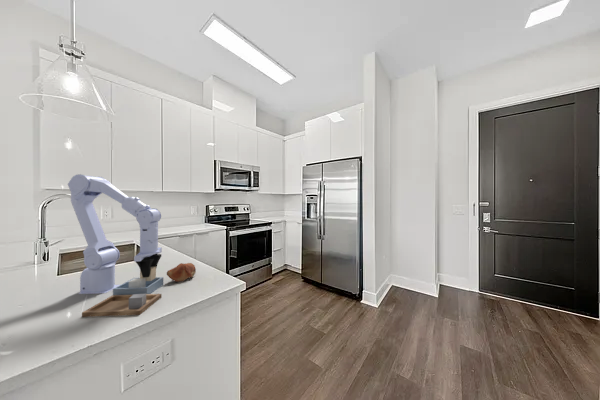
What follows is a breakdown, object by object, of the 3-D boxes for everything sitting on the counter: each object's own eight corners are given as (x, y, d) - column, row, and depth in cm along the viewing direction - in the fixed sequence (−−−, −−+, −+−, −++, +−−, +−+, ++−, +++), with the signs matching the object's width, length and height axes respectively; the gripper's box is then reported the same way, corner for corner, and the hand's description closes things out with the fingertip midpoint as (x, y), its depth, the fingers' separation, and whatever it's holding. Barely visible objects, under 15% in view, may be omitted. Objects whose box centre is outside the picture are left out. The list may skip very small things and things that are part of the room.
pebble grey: (128, 294, 81) (128, 281, 81) (134, 290, 84) (134, 278, 84) (140, 293, 81) (140, 281, 81) (145, 290, 84) (145, 278, 84)
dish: (112, 298, 78) (112, 288, 78) (133, 286, 89) (134, 277, 89) (146, 298, 79) (146, 288, 79) (163, 285, 90) (163, 277, 90)
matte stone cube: (128, 311, 68) (128, 298, 68) (133, 307, 71) (133, 294, 71) (141, 310, 69) (142, 297, 69) (146, 305, 72) (146, 293, 72)
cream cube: (139, 281, 84) (140, 269, 84) (145, 278, 87) (145, 266, 87) (151, 280, 85) (151, 269, 85) (155, 278, 88) (156, 266, 88)
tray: (81, 318, 65) (81, 312, 65) (112, 300, 77) (112, 295, 77) (139, 316, 66) (140, 310, 66) (161, 298, 78) (161, 293, 78)
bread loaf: (167, 278, 88) (173, 254, 94) (158, 283, 93) (165, 260, 99) (198, 282, 96) (202, 260, 102) (189, 287, 101) (193, 265, 107)
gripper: (149, 243, 79) (148, 281, 79) (169, 236, 94) (169, 269, 94) (127, 243, 79) (127, 282, 79) (151, 237, 93) (151, 269, 93)
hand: (148, 275), depth 86 cm, fingers closed on cream cube, 3 cm apart
